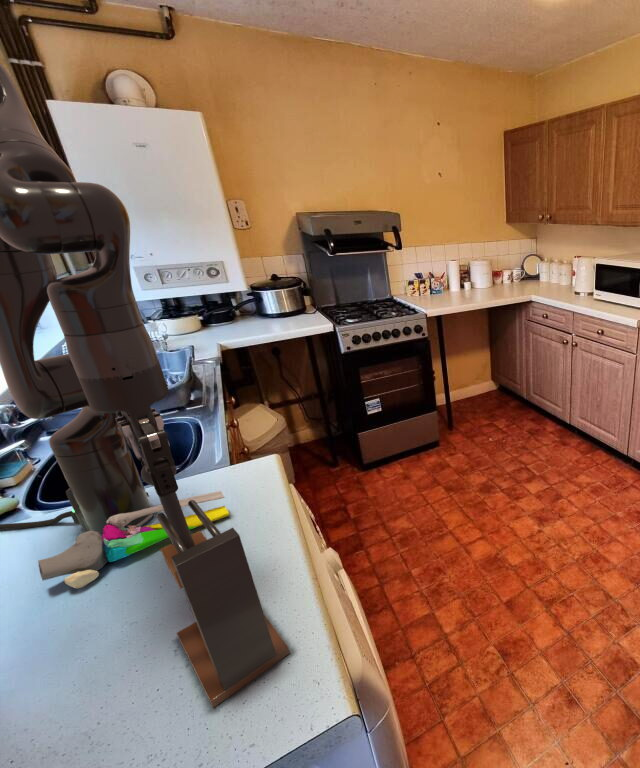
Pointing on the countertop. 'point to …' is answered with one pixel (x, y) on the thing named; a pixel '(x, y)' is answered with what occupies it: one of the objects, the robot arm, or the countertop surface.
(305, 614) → the countertop surface
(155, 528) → the knee model
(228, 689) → the upright panel stand
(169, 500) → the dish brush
